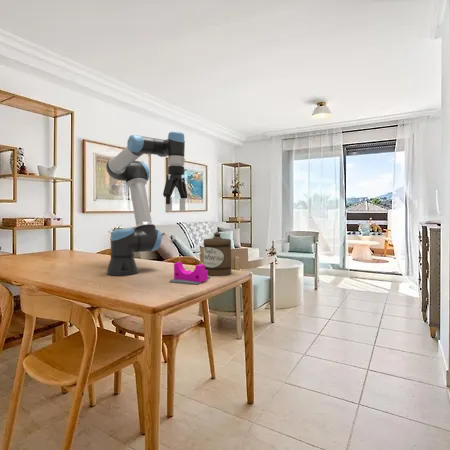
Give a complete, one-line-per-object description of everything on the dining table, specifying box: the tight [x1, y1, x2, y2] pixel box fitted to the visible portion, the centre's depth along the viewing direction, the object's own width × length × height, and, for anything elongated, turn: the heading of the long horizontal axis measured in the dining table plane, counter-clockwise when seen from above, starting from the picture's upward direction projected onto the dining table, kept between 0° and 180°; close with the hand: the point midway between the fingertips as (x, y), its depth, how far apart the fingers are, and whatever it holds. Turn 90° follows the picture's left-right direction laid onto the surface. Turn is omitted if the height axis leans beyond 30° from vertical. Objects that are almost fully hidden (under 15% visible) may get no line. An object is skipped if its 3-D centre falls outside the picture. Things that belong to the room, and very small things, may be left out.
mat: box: [169, 276, 211, 286], centre depth 156 cm, size 14×16×1 cm
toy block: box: [173, 261, 209, 283], centre depth 155 cm, size 15×6×8 cm, turn 62°
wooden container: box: [202, 231, 232, 277], centre depth 174 cm, size 15×15×22 cm
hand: (175, 211), depth 153 cm, fingers open, 13 cm apart
